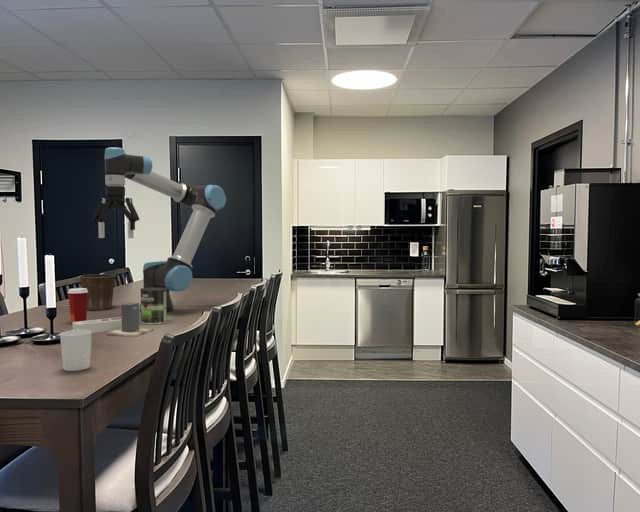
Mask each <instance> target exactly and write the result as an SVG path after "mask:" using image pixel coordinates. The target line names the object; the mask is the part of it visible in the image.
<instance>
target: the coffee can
mask: <svg viewBox="0 0 640 512" xmlns="http://www.w3.org/2000/svg"><path fill="white" fill-rule="evenodd" d="M139 290H140V305H141V312H140V324H142V325H149V326H151V325H154V326H155V325H161V324H162V323H163V324H166V323H167V322H168V321H167V312H166V290H167V288H162V287H148V288H144V287H142V288H140V289H139Z"/></svg>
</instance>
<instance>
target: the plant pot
mask: <svg viewBox="0 0 640 512" xmlns="http://www.w3.org/2000/svg"><path fill="white" fill-rule="evenodd" d="M116 277H117V275H116V274H112V273H111V274H109V273H108V274H107V273H93V274H82V275H79V279H80V285H81V286H82V287H81V288H87V291H88V292H87V311H91V310H92V311H106V310H109V309H112V308H113V299H114V286H115V283H116Z"/></svg>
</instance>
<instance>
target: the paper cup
mask: <svg viewBox="0 0 640 512" xmlns="http://www.w3.org/2000/svg"><path fill="white" fill-rule="evenodd" d="M87 292H88V291H87V288H82V287H77V288H76V287H74V288H70V289H68V291H67V294H68V303H69V315H70V324H71V325H72V322H79V321H87V316H88V315H87V314H88V313H87V312H88V310H87Z"/></svg>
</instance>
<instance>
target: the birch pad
mask: <svg viewBox="0 0 640 512" xmlns="http://www.w3.org/2000/svg"><path fill="white" fill-rule="evenodd" d="M154 329H155V328H154V327H139V330H136V331H133V332H122V328H120V329H117V330H113V331H106V332H105V336H113V337H115V336H116V337H128V338H129V337H132V338H136V337H139V336H141V335H145V334H148V333H150V332H153V331H154Z"/></svg>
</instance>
